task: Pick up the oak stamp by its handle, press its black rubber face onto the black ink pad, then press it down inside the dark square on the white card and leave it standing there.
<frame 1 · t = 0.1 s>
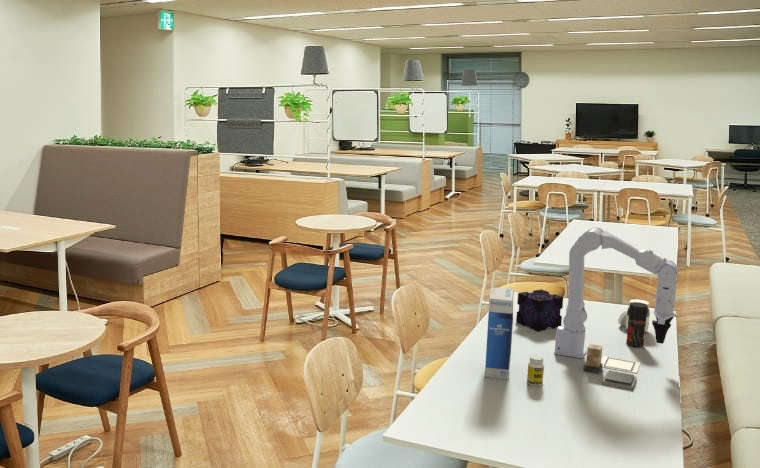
hand: (660, 339, 233), 10 cm above the table, tool pointing down, fingers open, 7 cm apart
deodorant: (634, 345, 257), on the table
string lights box: (497, 371, 230), on the table
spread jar: (632, 330, 274), on the table
marked card: (619, 364, 238), on the table
supplement bottle: (534, 383, 221), on the table
energy cube: (538, 325, 277), on the table
stamp: (593, 370, 233), on the table
ink pad: (619, 381, 224), on the table
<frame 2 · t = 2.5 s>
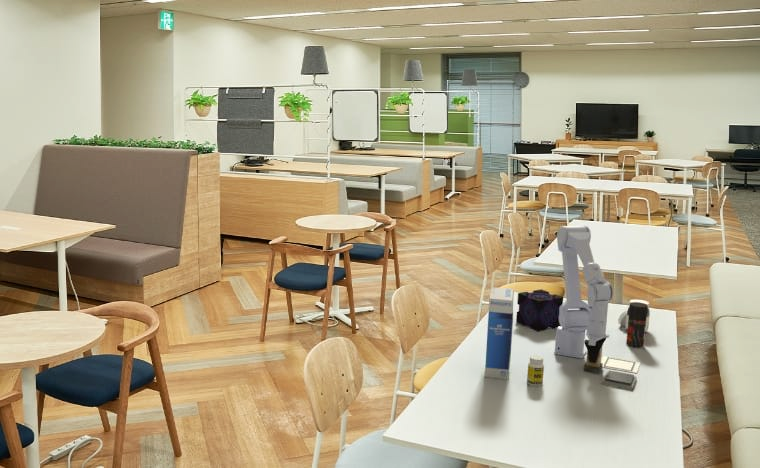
hand: (593, 360, 232), 3 cm above the table, tool pointing down, fingers closed on stamp, 4 cm apart
stamp: (593, 370, 233), on the table, touching gripper
everything else where it was.
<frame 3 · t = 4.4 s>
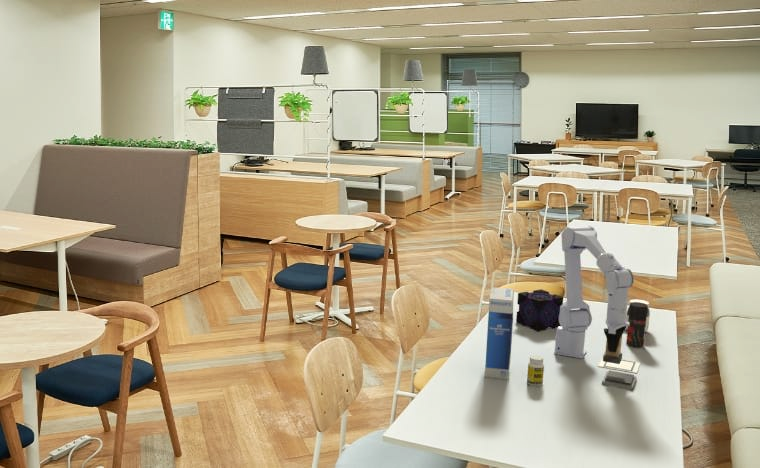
hand: (613, 349, 225), 10 cm above the table, tool pointing down, fingers closed on stamp, 4 cm apart
stamp: (612, 360, 225), point 6 cm above the table, touching gripper
everything else where it was.
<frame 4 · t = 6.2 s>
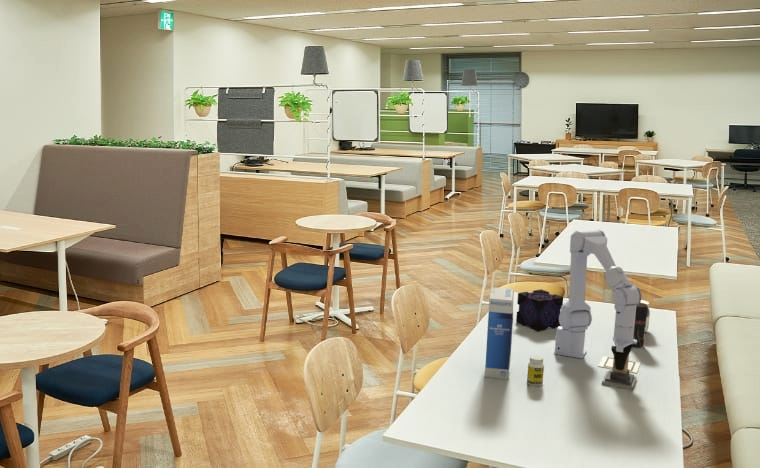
hand: (620, 366, 223), 5 cm above the table, tool pointing down, fingers closed on stamp, 4 cm apart
stamp: (619, 376, 224), point 2 cm above the table, touching gripper, ink pad
everything else where it was.
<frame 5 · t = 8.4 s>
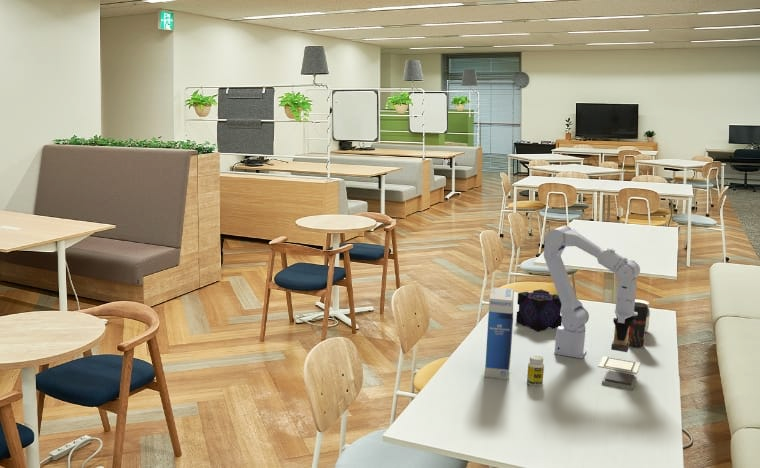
hand: (622, 338, 236), 9 cm above the table, tool pointing down, fingers closed on stamp, 4 cm apart
stamp: (620, 348, 237), point 6 cm above the table, touching gripper
everything else where it was.
when the fingers open (4 cm above the table, at t = 10.1 s): stamp stays where it is, resting on marked card.
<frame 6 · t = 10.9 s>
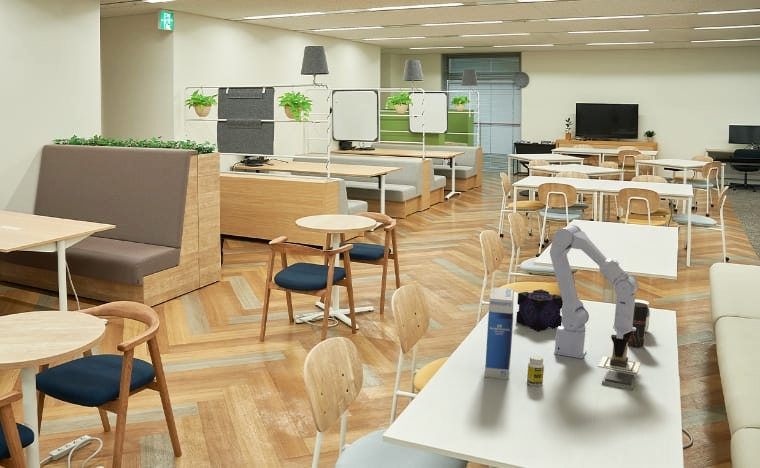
hand: (620, 353, 237), 4 cm above the table, tool pointing down, fingers open, 7 cm apart
stamp: (618, 364, 238), resting on marked card
everything else where it was.
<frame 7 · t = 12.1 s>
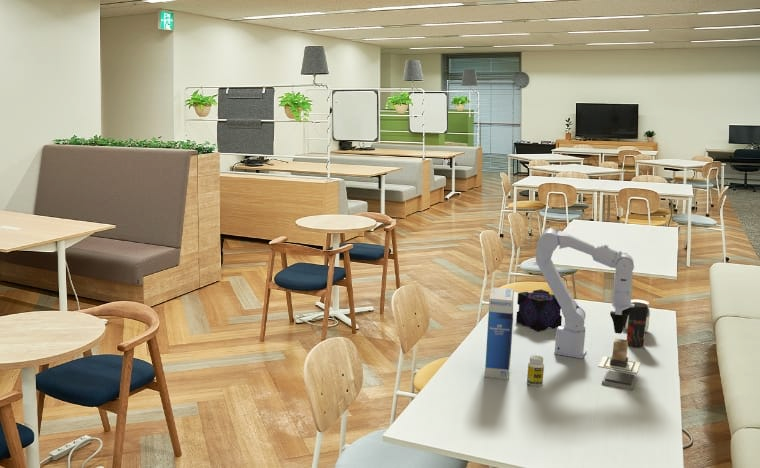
hand: (619, 329, 241), 10 cm above the table, tool pointing down, fingers open, 7 cm apart
nothing on the table moved.
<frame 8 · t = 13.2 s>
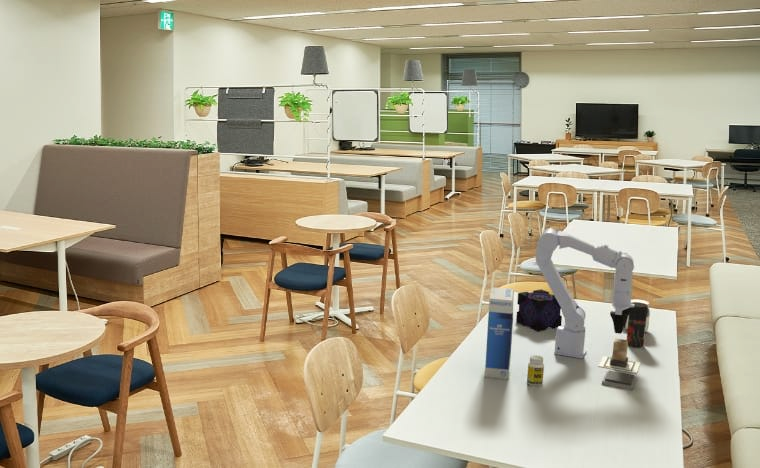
hand: (619, 329, 241), 10 cm above the table, tool pointing down, fingers open, 7 cm apart
nothing on the table moved.
at the end: stamp 0.3 cm off-centre on the marked card, point 0.2 cm above the marked card's base; stamp tilted 0°; the gripper is holding nothing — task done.
